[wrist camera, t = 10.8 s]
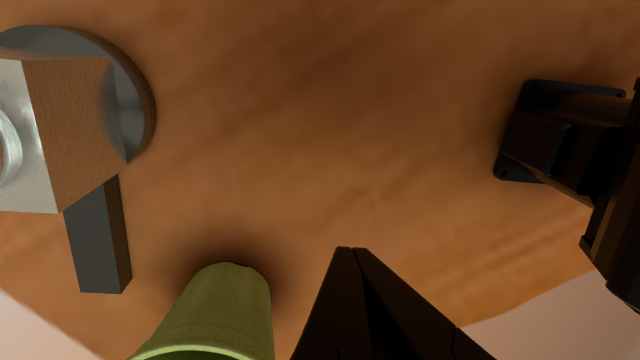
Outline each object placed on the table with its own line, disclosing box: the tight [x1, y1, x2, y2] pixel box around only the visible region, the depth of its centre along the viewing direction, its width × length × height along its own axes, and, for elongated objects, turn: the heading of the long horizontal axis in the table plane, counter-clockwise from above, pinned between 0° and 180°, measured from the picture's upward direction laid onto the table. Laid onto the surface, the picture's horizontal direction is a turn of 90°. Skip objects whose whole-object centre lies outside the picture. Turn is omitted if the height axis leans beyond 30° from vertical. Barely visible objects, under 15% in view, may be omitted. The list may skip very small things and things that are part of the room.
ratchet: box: [0, 25, 156, 294], centre depth 18 cm, size 16×8×5 cm, turn 173°
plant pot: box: [126, 262, 275, 360], centre depth 20 cm, size 9×9×9 cm
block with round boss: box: [0, 46, 127, 214], centre depth 13 cm, size 6×6×7 cm
